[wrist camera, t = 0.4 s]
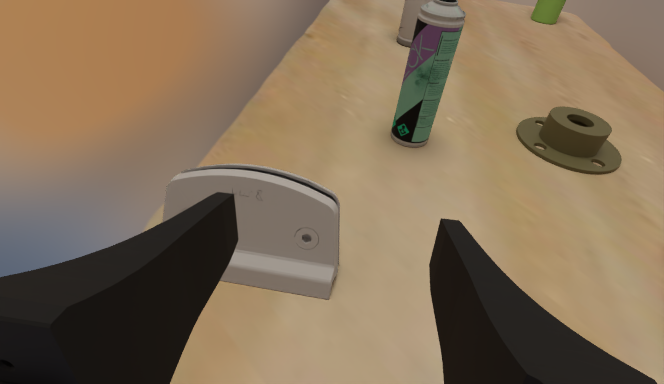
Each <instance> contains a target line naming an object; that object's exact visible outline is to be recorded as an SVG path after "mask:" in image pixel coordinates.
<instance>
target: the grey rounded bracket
mask: <svg viewBox="0 0 664 384" xmlns="http://www.w3.org/2000/svg"><path fill="white" fill-rule="evenodd" d="M216 192H223V193H231V194H234V198H235V208H236V218H237V228H238V239H239V240H238V243H237V245H236V248H235V251H234V253H233V256H232V258H231V260H230V263H229V265H228V266H227V268H226V270H225V272H224V274H223V275H222V277H221V279H220V281H226V282H232V283H237V284H243V285H249V286H254V287H260V288H266V289H271V290H277V291H283V292H288V293H294V294H300V295H305V296H311V297H317V298H322V299H328V300H329V298H330V294H331V288H332V282H333V280H334V278H335V276H336V275H337V273H338V265H339V218H340V204H339V200H338V198H337V195H336V194H335V193H334V192H333V191H331V190H329V189H327V188H326V187H324V186H322V185H320V184H318V183H315V182H313V181H311V180H309V179H307V178H304V177H301V176H299V175H296V174H293V173H290V172H286V171H283V170H279V169H275V168H270V167H265V166H258V165H250V164H217V165H209V166H202V167H197V168H192V169H187V170H184V171H182V172H181V173H180V174H178V175H176V176H175V177H174V178H173V179H172V180H171V181H170V183H169V184H168V185H167V188H166V196H165V205H164V213H163V222H164V221H166V220H168V219H170V218H172V217H174V216H176V215H177V214H179V213H181V212H183V211H184V210H186V209H188V208H190V207H191V206H193V205H195V204H196V203H198V202H200V201H202V200H203V199H205V198H207V197H209V196H210V195H212V194H214V193H216ZM163 222H162V223H163Z"/></svg>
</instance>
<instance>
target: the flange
mask: <svg viewBox="0 0 664 384" xmlns="http://www.w3.org/2000/svg"><path fill="white" fill-rule="evenodd" d="M536 123H540V124H542V125H543V126H540V125H538V124H536ZM611 132H612V129H611V126H610V125H609V124H608V123H607V122H606V121H604V120H603V119H601V118H600V117H598V116H596V115H594V114H592V113H589V112H587V111H584V110H580V109H577V108H572V107H556V108H553V109H552V110H551V111H550V113H549V115H548V117H534V118H528V119H525V120H523V121H521V122H520V123H519V125H518V127H517V129H516V134H517V137H518V139H519V140H520V142H521V143H522V144H523V145H524V146H525V147H526V148H527V149H528V150H529V151H531V152H532V153H534V154H535V155H537V156H538V157H540V158H542V159H543V160H545V161H547V162H549V163H552V164H554V165H556V166H559V167H562V168H565V169H568V170H571V171H575V172H580V173H586V174H607V173H611V172H613V171H615V170H616V169H617V168H618V167H619V165H620V164H621V160H622V159H621V155H620V153H619V152H618V150H617V149H616V148H615V147H614V146H613V145H612V144H611V143H610V142H609V141H608V140H606V139H607V138H608V136H609V135H610V133H611ZM535 146H540V147H542V148H544V149H545V150H541V149H538V148H536V147H535ZM592 162H596V163H598V164H600V165H602V166H603V167H600V166H597V165H595V164H593V163H592Z"/></svg>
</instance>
